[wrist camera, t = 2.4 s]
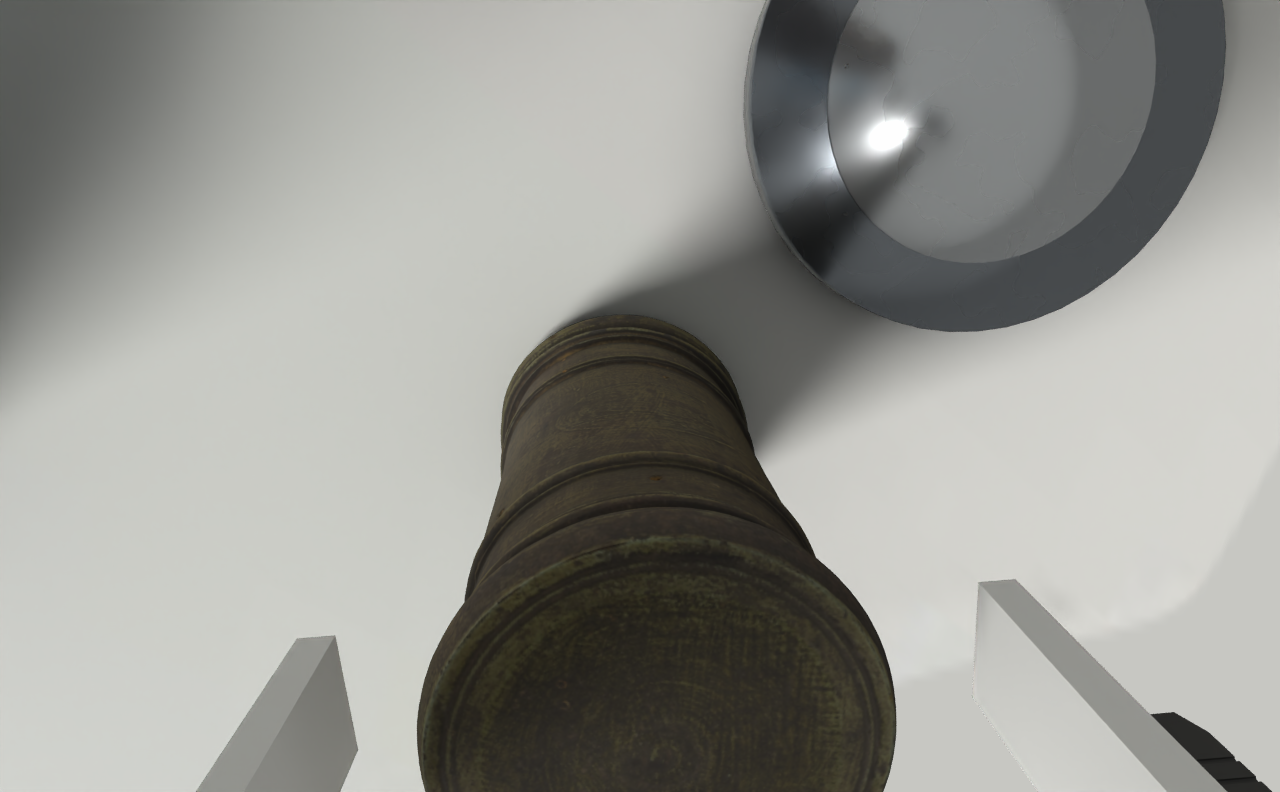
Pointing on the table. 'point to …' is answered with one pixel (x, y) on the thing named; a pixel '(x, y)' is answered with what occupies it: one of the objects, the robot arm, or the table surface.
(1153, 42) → the dark gray plate
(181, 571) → the table surface
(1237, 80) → the table surface
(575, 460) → the container
